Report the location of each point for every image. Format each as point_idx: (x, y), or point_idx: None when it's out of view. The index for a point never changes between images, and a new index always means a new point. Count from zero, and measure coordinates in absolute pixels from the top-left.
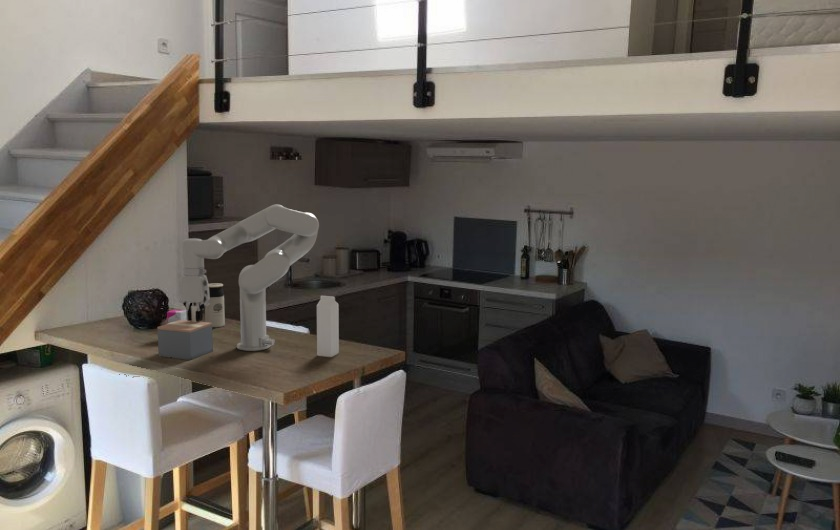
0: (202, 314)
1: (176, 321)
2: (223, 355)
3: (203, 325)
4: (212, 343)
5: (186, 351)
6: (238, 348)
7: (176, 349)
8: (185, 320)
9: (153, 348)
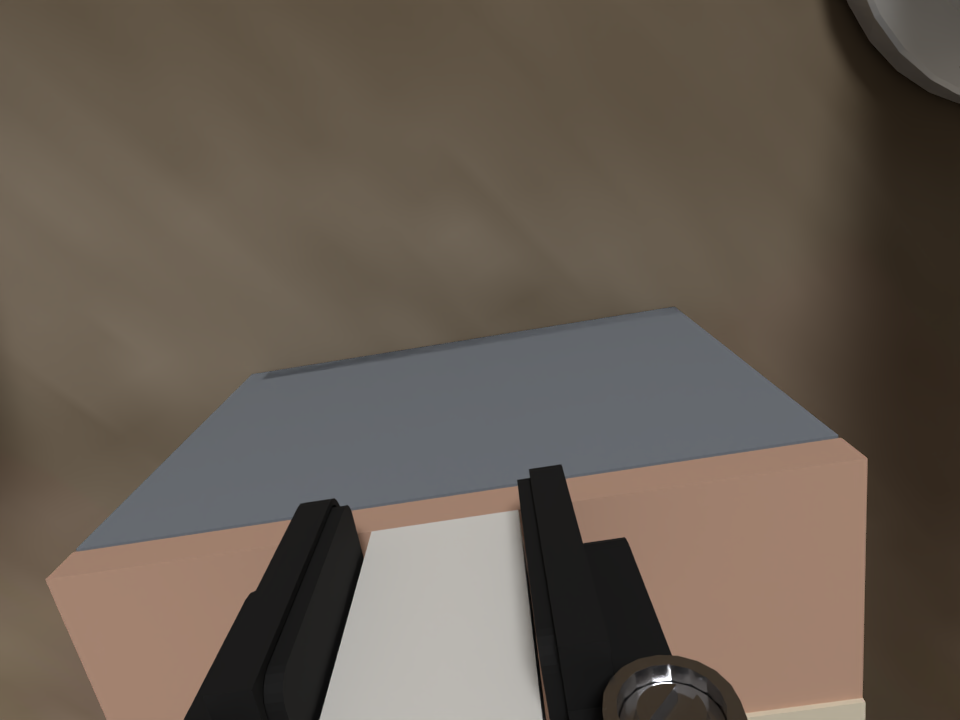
0: (645, 594)
1: (129, 712)
2: (894, 376)
3: (862, 707)
4: (704, 334)
5: None
6: (936, 93)
7: None
8: (187, 575)
9: (46, 538)
